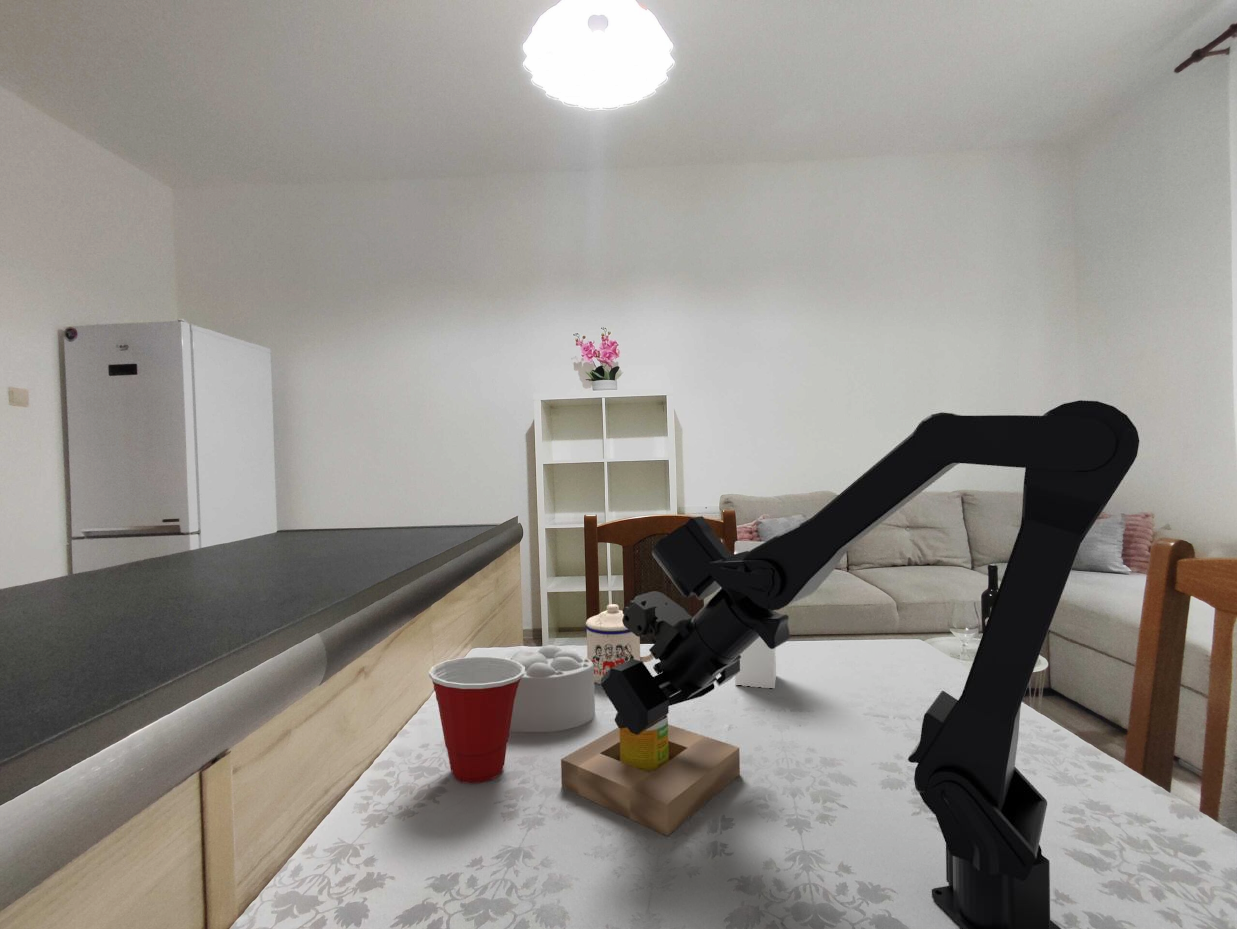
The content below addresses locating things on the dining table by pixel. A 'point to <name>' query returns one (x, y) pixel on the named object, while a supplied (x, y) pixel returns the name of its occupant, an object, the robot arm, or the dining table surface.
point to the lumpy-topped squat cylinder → (553, 691)
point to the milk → (756, 650)
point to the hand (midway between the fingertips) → (633, 714)
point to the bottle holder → (653, 778)
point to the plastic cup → (476, 713)
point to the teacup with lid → (611, 642)
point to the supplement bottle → (645, 747)
